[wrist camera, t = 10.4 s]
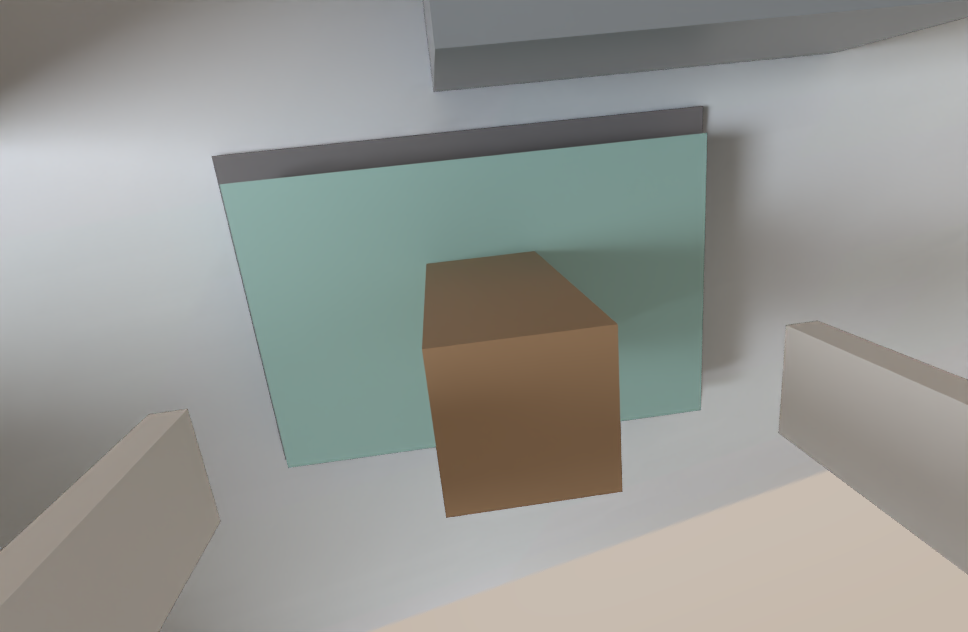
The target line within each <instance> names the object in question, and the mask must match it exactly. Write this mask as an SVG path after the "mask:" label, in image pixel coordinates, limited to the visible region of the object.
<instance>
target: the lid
mask: <svg viewBox="0 0 968 632" xmlns="http://www.w3.org/2000/svg"><path fill="white" fill-rule="evenodd" d="M706 163H707V133H701V134H691V135H682V136H672V137H663V138H653V139H644V140H634V141H625V142H615V143H606V144H596V145H587V146H577V147H568V148H559V149H549V150H540V151H530V152H521V153H511V154H502V155H492V156H483V157H473V158H464V159H454V160H445V161H436V162H426V163H417V164H407V165H398V166H388V167H379V168H369V169H360V170H350V171H341V172H331V173H322V174H313V175H303V176H294V177H284V178H275V179H265V180H256V181H246V182H237V183H228V184H220V189H221V193H222V197H223V201H224V205H225V209H226V213H227V217H228V221H229V226H230V230H231V234H232V238H233V242H234V246H235V250H236V254H237V259H238V263H239V267H240V271H241V275H242V279H243V283H244V287H245V291H246V296H247V300H248V304H249V308H250V312H251V316H252V320H253V324H254V328H255V333H256V337H257V341H258V345H259V349H260V353H261V357H262V361H263V366H264V370H265V374H266V378H267V382H268V386H269V390H270V394H271V398H272V403H273V407H274V411H275V415H276V419H277V423H278V427H279V431H280V436H281V440H282V444H283V448H284V452H285V456H286V460H287V464H288V468H291V467H298V466H305V465H312V464H319V463H326V462H334V461H341V460H348V459H355V458H362V457H369V456H376V455H384V454H391V453H398V452H405V451H412V450H419V449H426V448H434V447H436V450H437V457H438V464H439V471H440V478H441V484H442V491H443V498H444V505H445V512H446V518H448V517H454V516H461V515H468V514H475V513H481V512H488V511H495V510H502V509H508V508H515V507H522V506H529V505H535V504H542V503H549V502H555V501H562V500H569V499H576V498H582V497H589V496H596V495H603V494H609V493H616V492H622V463H621V425H620V421H626V420H634V419H641V418H648V417H655V416H662V415H669V414H676V413H684V412H691V411H698V410H701V372H702V330H703V289H704V247H705V205H706Z"/></svg>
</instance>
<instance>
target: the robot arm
mask: <svg viewBox="0 0 968 632" xmlns="http://www.w3.org/2000/svg"><path fill="white" fill-rule="evenodd" d="M778 433H779V434H781V435H782V436H783V437H785V438H786V439H787V440H789V441H790V442H791V443H793V444H794V445H795V446H797V447H798V448H799V449H801V450H802V451H803V452H805V453H806V454H807V455H809V456H810V457H811V458H813V459H814V460H815V461H817V462H818V463H819V464H821V465H822V466H823V467H825V468H826V469H827V470H829V471H830V472H831V473H833V474H834V475H836V476H837V477H838V478H840V479H841V480H842V481H843V482H845V483H846V484H847V485H849V486H850V487H851V488H853V489H854V490H856V491H857V492H858V493H859V494H861V495H862V496H863V497H865V498H866V499H868V500H869V501H870V502H872V503H873V504H874V505H876V506H877V507H878V508H880V509H881V510H882V511H884V512H885V513H886V514H888V515H889V516H891V517H892V518H893V519H894V520H896V521H897V522H899V523H900V524H901V525H902V526H904V527H905V528H906V529H908V530H909V531H910V532H912V533H913V534H914V535H916V536H917V537H918V538H920V539H921V540H922V541H924V542H925V543H926V544H928V545H929V546H930V547H932V548H933V549H934V550H936V551H937V552H938V553H940V554H941V555H942V556H944V557H945V558H946V559H948V560H949V561H950V562H952V563H953V564H954V565H956V566H957V567H958V568H960V569H961V570H962V571H964V572H965V573H966V574H968V380H967V379H964V378H962V377H959V376H957V375H954V374H952V373H949V372H947V371H944V370H941V369H939V368H936V367H934V366H931V365H929V364H926V363H924V362H921V361H919V360H916V359H914V358H911V357H908V356H906V355H903V354H901V353H898V352H896V351H893V350H891V349H888V348H886V347H883V346H881V345H878V344H875V343H873V342H870V341H868V340H865V339H863V338H860V337H858V336H855V335H853V334H850V333H847V332H845V331H842V330H840V329H837V328H835V327H832V326H830V325H827V324H825V323H822V322H820V321H812V322H805V323H798V324H791V325H786V333H785V347H784V361H783V376H782V390H781V404H780V418H779V432H778ZM219 523H220V517H219V514H218V511H217V507H216V504H215V500H214V497H213V494H212V490H211V487H210V483H209V480H208V477H207V473H206V470H205V466H204V463H203V460H202V456H201V453H200V449H199V446H198V443H197V439H196V436H195V432H194V429H193V426H192V422H191V419H190V415H189V412H188V409H184V410H176V411H169V412H162V413H155V414H149V415H148V416H147V417H145V418H144V419H143V420H142V421H141V422H140V423H139V424H138V425H137V426H136V427H135V428H134V429H132V430H131V431H130V432H129V433H128V434H127V435H126V436H125V437H124V438H123V439H122V440H121V441H120V442H118V443H117V444H116V445H115V446H114V447H113V448H112V449H111V450H110V451H109V452H108V453H107V454H105V455H104V456H103V457H102V458H101V459H100V460H99V461H98V462H97V463H96V464H95V465H94V466H92V467H91V468H90V469H89V470H88V471H87V472H86V473H85V474H84V475H83V476H82V477H81V478H79V479H78V480H77V481H76V482H75V483H74V484H73V485H72V486H71V487H70V488H69V489H68V490H67V491H65V492H64V493H63V494H62V495H61V496H60V497H59V498H58V499H57V500H56V501H55V502H54V503H52V504H51V505H50V506H49V507H48V508H47V509H46V510H45V511H44V512H43V513H42V514H41V515H39V516H38V517H37V518H36V519H35V520H34V521H33V522H32V523H31V524H30V525H29V526H28V527H26V528H25V529H24V530H23V531H22V532H21V533H20V534H19V535H18V536H17V537H16V538H15V539H13V540H12V541H11V542H10V543H9V544H8V545H7V546H6V547H5V548H4V549H3V550H2V551H1V552H0V632H159V631H160V629H161V627H162V625H163V624H164V622H165V620H166V618H167V616H168V615H169V613H170V611H171V609H172V607H173V606H174V604H175V602H176V600H177V598H178V597H179V595H180V593H181V591H182V590H183V588H184V586H185V584H186V582H187V581H188V579H189V577H190V575H191V573H192V572H193V570H194V568H195V566H196V564H197V563H198V561H199V559H200V557H201V555H202V554H203V552H204V550H205V548H206V546H207V545H208V543H209V541H210V539H211V537H212V536H213V534H214V532H215V530H216V529H217V527H218V525H219Z"/></svg>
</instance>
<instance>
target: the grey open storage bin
mask: <svg viewBox="0 0 968 632" xmlns="http://www.w3.org/2000/svg"><path fill="white" fill-rule="evenodd" d="M423 7H424V15H425V24H426V32H427V41H428V49H429V57H430V66H431V74H432V82H433V91H434V92H438V91H448V90H458V89H469V88H479V87H489V86H499V85H510V84H520V83H530V82H541V81H551V80H561V79H571V78H582V77H592V76H602V75H612V74H623V73H633V72H643V71H654V70H664V69H674V68H684V67H695V66H705V65H715V64H726V63H736V62H746V61H756V60H767V59H777V58H787V57H797V56H808V55H818V54H828V53H835V52H839V51H842V50H846V49H850V48H854V47H857V46H861V45H865V44H869V43H872V42H876V41H880V40H884V39H887V38H891V37H895V36H899V35H902V34H906V33H910V32H914V31H917V30H921V29H925V28H928V27H932V26H936V25H940V24H943V23H947V22H951V21H955V20H958V19H962V18H966V17H968V0H423Z"/></svg>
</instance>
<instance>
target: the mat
mask: <svg viewBox="0 0 968 632" xmlns="http://www.w3.org/2000/svg"><path fill="white" fill-rule="evenodd" d="M702 129H703V106H699V107H689V108H679V109H669V110H659V111H650V112H640V113H630V114H620V115H611V116H601V117H591V118H581V119H571V120H562V121H552V122H542V123H532V124H523V125H513V126H503V127H493V128H484V129H474V130H464V131H454V132H444V133H435V134H425V135H415V136H405V137H396V138H386V139H376V140H366V141H356V142H347V143H337V144H327V145H317V146H308V147H298V148H288V149H278V150H268V151H259V152H249V153H239V154H229V155H220V156H212V160H213V164H214V168H215V172H216V176H217V180H218V184H219V188H220V184H228V183H237V182H246V181H256V180H265V179H275V178H284V177H294V176H303V175H313V174H322V173H331V172H341V171H350V170H360V169H369V168H379V167H388V166H398V165H407V164H417V163H426V162H436V161H445V160H454V159H464V158H473V157H483V156H492V155H502V154H511V153H521V152H530V151H540V150H549V149H559V148H568V147H577V146H587V145H596V144H606V143H615V142H625V141H634V140H644V139H653V138H663V137H672V136H682V135H691V134H701V133H702ZM220 192H221V189H220ZM221 197H222V193H221ZM222 201H223V197H222ZM223 205H224V201H223ZM224 209H225V205H224ZM225 213H226V209H225ZM226 217H227V213H226ZM227 221H228V217H227ZM228 225H229V221H228ZM229 229H230V226H229ZM230 233H231V230H230ZM231 238H232V234H231ZM232 242H233V238H232ZM233 246H234V242H233ZM234 250H235V246H234ZM235 254H236V250H235ZM236 258H237V254H236ZM237 262H238V259H237ZM238 266H239V263H238ZM239 270H240V267H239ZM240 275H241V271H240ZM241 279H242V275H241ZM242 283H243V279H242ZM243 287H244V283H243ZM244 291H245V287H244ZM245 295H246V291H245ZM246 299H247V296H246ZM247 303H248V300H247ZM248 307H249V304H248ZM249 312H250V308H249ZM250 316H251V312H250ZM251 320H252V316H251ZM252 324H253V320H252ZM253 328H254V324H253ZM254 332H255V328H254ZM255 336H256V333H255ZM256 340H257V337H256ZM257 344H258V341H257ZM258 348H259V345H258ZM259 353H260V349H259ZM260 357H261V353H260ZM261 361H262V357H261ZM262 365H263V361H262ZM263 369H264V366H263ZM264 373H265V370H264ZM265 377H266V374H265ZM266 381H267V378H266ZM267 385H268V382H267ZM268 390H269V386H268ZM269 394H270V390H269ZM270 398H271V394H270ZM271 402H272V398H271ZM272 406H273V403H272ZM273 410H274V407H273ZM274 414H275V411H274ZM275 418H276V415H275ZM276 422H277V419H276ZM277 427H278V423H277ZM278 431H279V427H278ZM279 435H280V431H279ZM280 439H281V436H280ZM281 443H282V440H281ZM282 447H283V444H282ZM283 451H284V448H283ZM284 455H285V452H284ZM285 459H286V456H285Z"/></svg>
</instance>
